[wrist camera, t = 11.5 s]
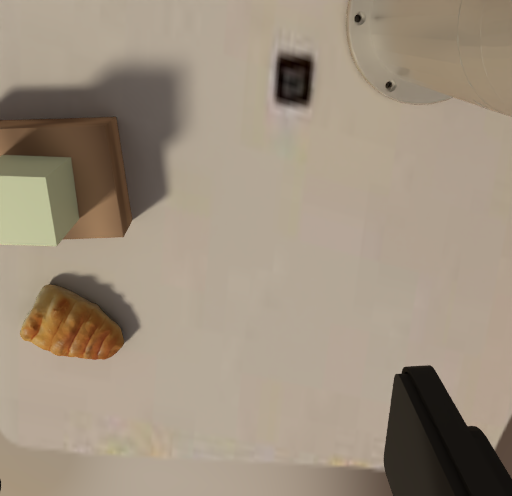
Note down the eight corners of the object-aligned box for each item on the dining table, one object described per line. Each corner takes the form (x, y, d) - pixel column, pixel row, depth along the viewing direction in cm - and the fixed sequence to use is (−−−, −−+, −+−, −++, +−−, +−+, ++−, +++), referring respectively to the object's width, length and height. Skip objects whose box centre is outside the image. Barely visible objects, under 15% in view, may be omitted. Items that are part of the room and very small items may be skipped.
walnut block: (117, 116, 37) (104, 125, 33) (133, 218, 41) (123, 237, 37) (-21, 120, 36) (-48, 130, 33) (9, 222, 40) (-13, 242, 37)
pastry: (137, 315, 45) (129, 339, 42) (111, 361, 48) (101, 387, 44) (46, 275, 43) (29, 297, 39) (23, 325, 45) (5, 350, 42)
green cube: (70, 157, 34) (45, 177, 29) (79, 218, 36) (56, 246, 32) (2, 154, 34) (-34, 174, 29) (15, 216, 36) (-17, 244, 31)
